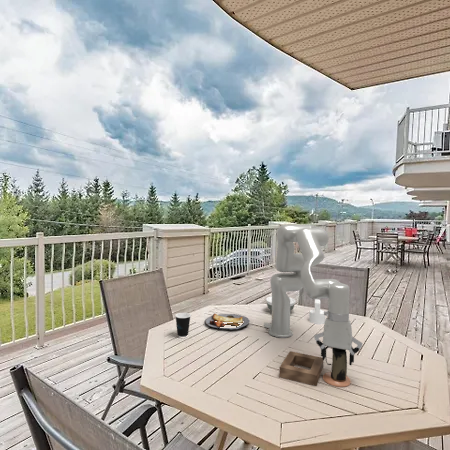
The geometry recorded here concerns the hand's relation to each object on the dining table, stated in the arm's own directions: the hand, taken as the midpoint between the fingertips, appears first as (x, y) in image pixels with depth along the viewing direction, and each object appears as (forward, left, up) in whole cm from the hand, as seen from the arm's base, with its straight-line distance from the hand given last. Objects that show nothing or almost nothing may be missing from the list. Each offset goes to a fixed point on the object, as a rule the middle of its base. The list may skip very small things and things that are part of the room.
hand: (337, 361), depth 121 cm
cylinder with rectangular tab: (-18, +64, -8) cm, 67 cm away
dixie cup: (-75, +9, -7) cm, 76 cm away
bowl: (-42, +71, -8) cm, 83 cm away
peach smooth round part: (0, 0, -7) cm, 7 cm away
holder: (-13, 0, -7) cm, 15 cm away
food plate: (-63, +36, -8) cm, 73 cm away
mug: (0, 0, -7) cm, 7 cm away
